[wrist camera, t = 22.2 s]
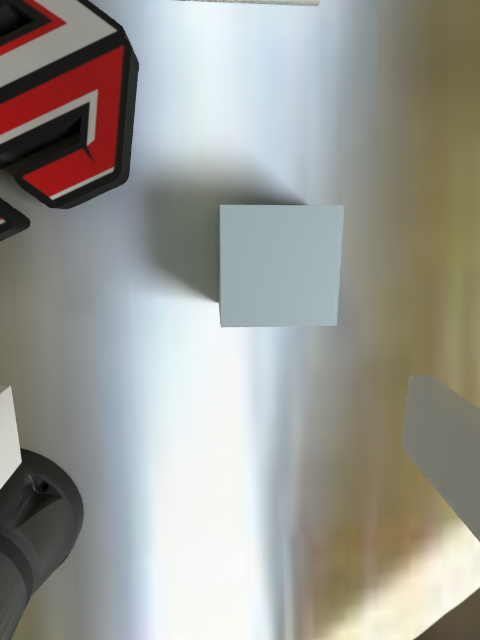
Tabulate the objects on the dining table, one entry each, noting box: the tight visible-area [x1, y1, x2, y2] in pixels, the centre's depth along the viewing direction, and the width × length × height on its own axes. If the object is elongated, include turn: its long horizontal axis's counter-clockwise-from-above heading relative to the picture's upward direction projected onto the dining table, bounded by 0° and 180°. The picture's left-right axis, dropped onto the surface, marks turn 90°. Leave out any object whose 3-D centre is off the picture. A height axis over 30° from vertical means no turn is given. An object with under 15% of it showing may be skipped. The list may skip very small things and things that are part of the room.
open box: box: [218, 205, 344, 327], centre depth 34 cm, size 9×9×9 cm
